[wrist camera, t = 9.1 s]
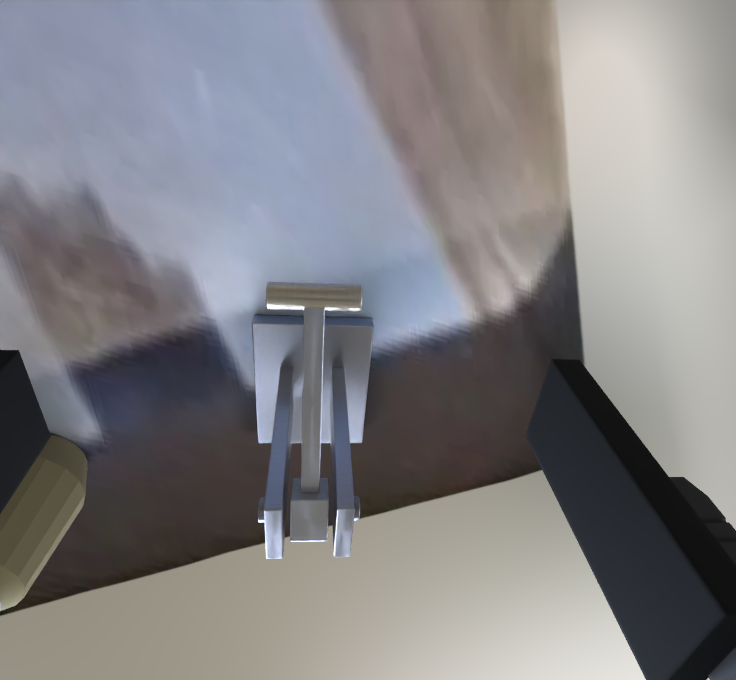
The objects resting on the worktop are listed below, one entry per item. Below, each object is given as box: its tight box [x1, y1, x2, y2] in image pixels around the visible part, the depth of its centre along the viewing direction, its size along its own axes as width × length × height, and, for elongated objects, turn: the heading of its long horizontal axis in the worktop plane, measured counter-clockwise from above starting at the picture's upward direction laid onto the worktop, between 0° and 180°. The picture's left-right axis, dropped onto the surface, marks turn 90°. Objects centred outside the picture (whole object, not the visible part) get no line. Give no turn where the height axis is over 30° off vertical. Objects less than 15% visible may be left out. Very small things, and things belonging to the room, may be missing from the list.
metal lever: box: [266, 282, 363, 542], centre depth 28 cm, size 15×5×2 cm, turn 175°
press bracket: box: [252, 315, 374, 559], centre depth 34 cm, size 12×9×15 cm
